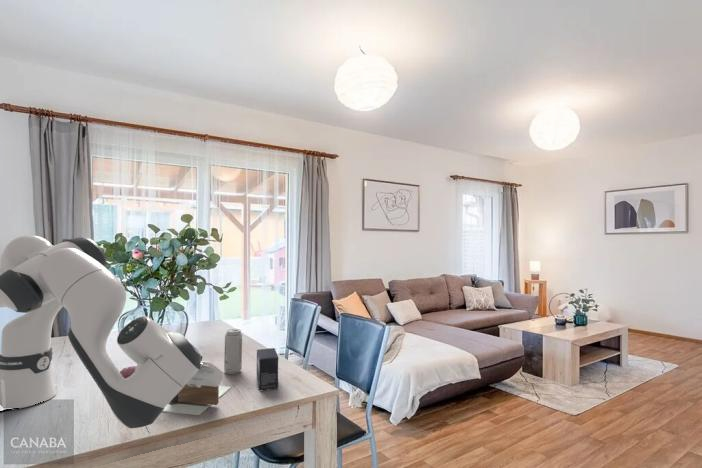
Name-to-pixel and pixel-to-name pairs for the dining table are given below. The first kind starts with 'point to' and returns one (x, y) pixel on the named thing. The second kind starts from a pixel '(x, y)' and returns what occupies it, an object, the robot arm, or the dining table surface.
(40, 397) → the robot arm
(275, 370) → the small box
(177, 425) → the dining table surface
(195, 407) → the card
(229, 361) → the energy drink can
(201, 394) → the fence panel
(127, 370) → the video game controller
